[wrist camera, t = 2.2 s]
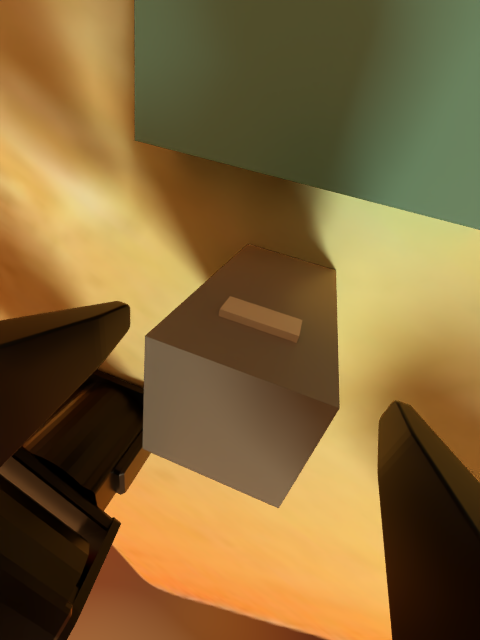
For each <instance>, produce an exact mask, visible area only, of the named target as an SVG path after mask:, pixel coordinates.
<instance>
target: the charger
mask: <svg viewBox="0 0 480 640" xmlns="http://www.w3.org/2000/svg"><path fill="white" fill-rule="evenodd" d="M338 410H339V370H338V330H337V291H336V270H334V269H330V268H327V267H324V266H320V265H317V264H314V263H310V262H307V261H304V260H300V259H297V258H294V257H290V256H287V255H284V254H280V253H277V252H274V251H270V250H267V249H264V248H260V247H257V246H254V245H250V244H247V245H246V246H245V247H244V248H243V249H242V250H241V251H240V252H238V253H237V254H236V255H235V256H234V257H233V258H232V259H231V260H229V261H228V262H227V263H226V264H225V265H224V266H223V267H222V268H221V269H219V270H218V271H217V272H216V273H215V274H214V275H213V276H212V277H210V278H209V279H208V280H207V281H206V282H205V283H204V284H203V285H202V286H200V287H199V288H198V289H197V290H196V291H195V292H194V293H193V294H191V295H190V296H189V297H188V298H187V299H186V300H185V301H184V302H183V303H181V304H180V305H179V306H178V307H177V308H176V309H175V310H174V311H172V312H171V313H170V314H169V315H168V316H167V317H166V318H165V319H164V320H162V321H161V322H160V323H159V324H158V325H157V326H156V327H155V328H153V329H152V330H151V331H150V332H149V333H148V334H147V335H146V336H145V361H144V404H143V448H142V449H144V450H147V451H149V452H151V453H153V454H156V455H158V456H160V457H163V458H165V459H167V460H169V461H172V462H174V463H176V464H178V465H181V466H183V467H185V468H188V469H190V470H192V471H194V472H197V473H199V474H201V475H204V476H206V477H208V478H210V479H213V480H215V481H217V482H220V483H222V484H224V485H226V486H229V487H231V488H233V489H236V490H238V491H240V492H242V493H245V494H247V495H249V496H252V497H254V498H256V499H258V500H261V501H263V502H265V503H268V504H270V505H272V506H274V507H277V508H279V507H280V505H281V504H282V502H283V500H284V499H285V497H286V495H287V494H288V492H289V490H290V489H291V487H292V485H293V484H294V482H295V481H296V479H297V477H298V476H299V474H300V472H301V471H302V469H303V467H304V466H305V464H306V462H307V461H308V459H309V457H310V456H311V454H312V453H313V451H314V449H315V448H316V446H317V444H318V443H319V441H320V439H321V438H322V436H323V434H324V433H325V431H326V430H327V428H328V426H329V425H330V423H331V421H332V420H333V418H334V416H335V415H336V413H337V411H338Z"/></svg>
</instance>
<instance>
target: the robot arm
mask: <svg viewBox="0 0 480 640" xmlns="http://www.w3.org/2000/svg"><path fill="white" fill-rule="evenodd" d="M129 327H130V307H129V305H128V304H125V303H123V302H120V301H114V302H108V303H102V304H96V305H91V306H85V307H79V308H73V309H67V310H61V311H55V312H49V313H43V314H37V315H31V316H25V317H19V318H13V319H7V320H2V321H0V640H67V638H68V636H69V635H70V633H71V631H72V629H73V628H74V626H75V624H76V622H77V620H78V618H79V616H80V614H81V611H82V609H83V607H84V604H85V603H86V600H87V598H88V596H89V594H90V591H91V589H92V587H93V585H94V583H95V580H96V578H97V576H98V574H99V572H100V569H101V567H102V565H103V563H104V560H105V558H106V556H107V554H108V552H109V549H110V547H111V545H112V543H113V541H114V538H115V536H116V534H117V532H118V529H119V527H120V525H121V523H120V522H119V521H118V520H117V519H115V518H114V517H113V518H111V517H110V516H109V515H107V514H106V513H105V512H104V510H105V508H106V507H107V505H108V504H109V502H110V501H111V499H112V498H113V496H114V495H115V493H118V494H123V493H125V492H126V491H127V489H128V488H129V486H130V485H131V483H132V482H133V480H134V478H135V477H136V475H137V474H138V472H139V471H140V469H141V468H142V466H143V464H144V463H145V461H146V460H147V458H148V457H149V455H150V453H151V452H149V451H147V450H144V449H142V448H143V404H144V389H143V388H140V387H138V386H135V385H133V384H130V383H128V382H125V381H123V380H120V379H118V378H115V377H113V376H111V375H108V374H106V373H103V372H101V371H98V370H96V369H97V368H98V367H99V366H100V365H101V364H102V363H103V362H104V360H105V359H106V358H107V357H108V356H109V354H110V353H111V352H112V350H113V349H114V348H115V347H116V345H117V344H118V343H119V342H120V340H121V339H122V338H123V336H124V335H125V334H126V333H127V331H128V330H129ZM378 484H379V495H380V507H381V518H382V529H383V540H384V551H385V563H386V574H387V585H388V596H389V608H390V619H391V630H392V640H480V483H479V481H478V480H477V479H476V478H475V477H474V476H473V475H472V474H471V473H470V471H469V470H468V469H467V468H466V467H465V466H464V465H463V464H462V462H461V461H460V460H459V459H458V458H457V457H456V456H455V455H454V454H453V452H452V451H451V450H450V449H449V448H448V447H447V446H446V445H445V444H444V442H443V441H442V440H441V439H440V438H439V437H438V436H437V435H436V434H435V432H434V431H433V430H432V429H431V428H430V427H429V426H428V425H427V424H426V422H425V421H424V420H423V419H422V418H421V417H420V416H419V415H418V413H417V412H416V411H415V410H414V409H413V408H412V407H411V406H410V405H408V404H406V403H403V402H400V401H397V400H396V401H393V402H392V403H391V404H390V406H389V407H388V408H387V410H386V411H385V412H384V414H383V415H382V416H381V418H380V421H379V433H378Z"/></svg>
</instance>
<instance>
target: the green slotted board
mask: <svg viewBox="0 0 480 640" xmlns="http://www.w3.org/2000/svg"><path fill="white" fill-rule="evenodd" d="M134 17H135V141H139V142H143V143H147V144H151V145H155V146H159V147H162V148H166V149H170V150H174V151H178V152H182V153H186V154H189V155H193V156H197V157H201V158H205V159H209V160H213V161H216V162H220V163H224V164H228V165H232V166H236V167H239V168H243V169H247V170H251V171H255V172H259V173H263V174H266V175H270V176H274V177H278V178H282V179H286V180H290V181H293V182H297V183H301V184H305V185H309V186H313V187H317V188H320V189H324V190H328V191H332V192H336V193H340V194H344V195H347V196H351V197H355V198H359V199H363V200H367V201H371V202H374V203H378V204H382V205H386V206H390V207H394V208H398V209H401V210H405V211H409V212H413V213H417V214H421V215H425V216H428V217H432V218H436V219H440V220H444V221H448V222H452V223H455V224H459V225H463V226H467V227H471V228H475V229H479V230H480V0H134Z"/></svg>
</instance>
